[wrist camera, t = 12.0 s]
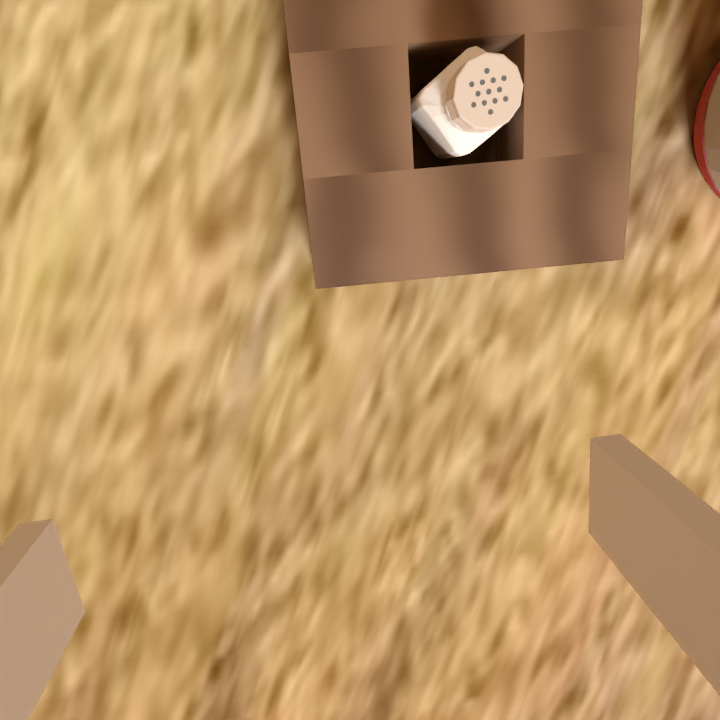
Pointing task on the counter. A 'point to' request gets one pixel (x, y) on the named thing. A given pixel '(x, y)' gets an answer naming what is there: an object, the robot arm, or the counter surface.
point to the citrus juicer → (709, 131)
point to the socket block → (470, 181)
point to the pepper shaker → (467, 102)
